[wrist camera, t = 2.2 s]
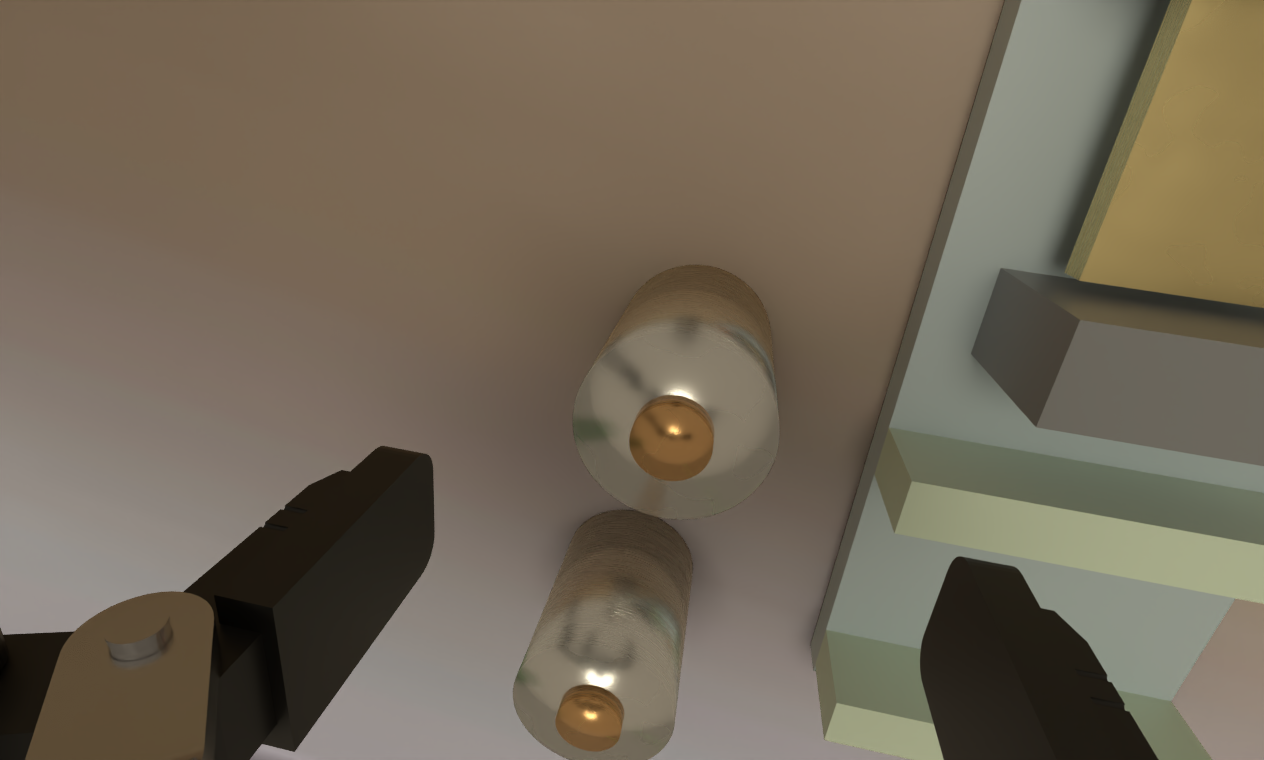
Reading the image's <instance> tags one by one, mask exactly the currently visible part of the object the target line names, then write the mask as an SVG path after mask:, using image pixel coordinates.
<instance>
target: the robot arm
mask: <svg viewBox="0 0 1264 760" xmlns="http://www.w3.org/2000/svg"><path fill="white" fill-rule="evenodd" d="M433 543H434V488H433V464H432V460H431V458H430V456H429V455H428V454H423V453H418V452H413V451H407V450H402V449H397V448H392V447H386V446H380V447H378V448H377V449H375V450H374V451H373V452H372V453H371V454H370V455H368V456H367V457H366V458H365V459H364V460H363V461H362V462H361V463H360V464H358V465H357V466H356V467H355V468H354V469H353V470H352V471H351V472H349V471H344V470H341V471H339V472H337V473H335V474H332V475H330V476H328V477H326V478H324V479H321V480H319V481H317V482H315V483H313V484H311V485H309V486H308V487H306V488H305V489H304V490H303V491H302V492H301V493H299V494H298V495H297V496H296V497H295V498H293V499H292V500H291V501H290V502H289V503H288V504H286V505H285V509H284V510H281V509H280V510H279V511H278V512H277V513H276V514H275V515H273V516H272V517H271V518H270V519H269V520H267V521H266V522H265V526H264V527H259V528H258V529H257V530H256V531H255V532H253V533H252V534H251V535H250V536H249V537H247V538H246V539H245V540H244V541H243V542H242V543H240V544H239V545H238V546H237V547H236V548H234V549H233V550H232V551H231V552H230V553H229V554H227V555H226V556H225V557H224V558H223V559H221V560H220V561H219V562H218V563H217V564H216V565H214V566H213V567H212V568H211V569H210V570H209V571H207V572H206V573H205V574H204V575H203V576H201V577H200V578H199V579H198V580H197V581H196V582H194V583H193V584H192V585H191V586H190V587H188V588H187V589H186V590H185V591H184V592H173V591H171V592H158V593H152V594H147V595H143V596H139V597H135V598H132V599H129V600H126V601H123V602H121V603H118V604H116V605H114V606H111V607H109V608H107V609H106V610H104V611H102V612H100V613H98V614H97V615H95V616H94V617H92V618H91V619H89V620H88V621H86V622H85V623H84V624H83V625H81V626H80V627H79V628H78V629H77V630H76V631H75V632H55V633H33V634H10V635H3V634H2V631H1V628H0V760H250V758H251V757H252V756H253V754H254V753H255V752H256V751H257V749H258V748H259V747H260V745H261V744H265V745H269V746H273V747H277V748H281V749H285V750H289V751H293V752H295V750H296V749H297V748H298V746H299V745H300V743H301V742H302V741H303V739H304V738H305V736H306V735H307V734H308V732H309V731H310V730H311V728H312V727H313V725H314V724H315V723H316V721H317V720H318V718H319V717H320V716H321V714H322V713H323V711H324V710H325V709H326V707H327V706H328V704H329V703H330V702H331V700H332V699H333V697H334V696H335V695H336V693H337V692H338V691H339V689H340V688H341V686H342V685H343V684H344V682H345V681H346V679H347V678H348V677H349V675H350V674H351V672H352V671H353V670H354V668H355V667H356V665H357V664H358V663H359V661H360V660H361V658H362V657H363V656H364V654H365V653H366V651H367V650H368V649H369V647H370V646H371V645H372V643H373V642H374V640H375V639H376V638H377V636H378V635H379V633H380V632H381V631H382V629H383V628H384V626H385V625H386V624H387V622H388V621H389V619H390V618H391V617H392V615H393V614H394V612H395V611H396V610H397V608H398V607H399V605H400V604H401V603H402V601H403V600H404V599H405V597H406V596H407V594H408V593H409V592H410V590H411V589H412V587H413V586H414V585H415V583H416V582H417V580H418V579H419V578H420V576H421V575H422V573H423V572H424V570H425V568H426V566H427V564H428V561H429V559H430V556H431V552H432V548H433ZM920 673H921V679H922V684H923V687H924V691H925V694H926V698H927V702H928V705H929V709H930V712H931V716H932V720H933V723H934V727H935V730H936V734H937V737H938V741H939V745H940V748H941V752H942V755H943V759H944V760H1159V759H1158V758H1157V756H1156V754H1155V753H1154V751H1153V750H1152V748H1151V746H1150V745H1149V743H1148V741H1147V740H1146V738H1145V736H1144V735H1143V733H1142V731H1141V730H1140V728H1139V726H1138V725H1137V723H1136V721H1135V720H1134V718H1133V717H1132V715H1131V713H1130V712H1129V711H1125V709H1124V705H1125V703H1124V702H1123V700H1122V698H1121V697H1120V695H1119V693H1118V692H1117V690H1116V688H1115V687H1114V685H1113V684H1112V682H1108V681H1107V676H1108V675H1107V674H1106V672H1105V670H1104V669H1103V667H1102V665H1101V664H1100V662H1099V660H1098V659H1097V657H1096V655H1095V654H1094V652H1093V651H1092V649H1091V647H1090V646H1089V644H1088V642H1087V641H1086V640H1085V639H1084V638H1083V637H1082V636H1080V635H1079V634H1078V633H1077V632H1076V631H1075V630H1074V629H1073V628H1072V627H1071V626H1070V625H1069V624H1068V623H1067V622H1066V621H1065V620H1064V619H1062V618H1061V617H1060V616H1059V615H1058V614H1057V613H1056V612H1055V611H1053V610H1048V609H1043V608H1040V606H1039V604H1038V602H1037V600H1036V599H1035V597H1034V595H1033V593H1032V591H1031V590H1030V588H1029V586H1028V584H1027V582H1026V580H1025V579H1024V577H1023V575H1022V573H1021V572H1020V571H1019V570H1018V569H1017V568H1016V567H1014V566H1009V565H1004V564H999V563H993V562H988V561H983V560H978V559H972V558H967V557H962V556H958V557H956V558H955V559H954V560H953V561H952V562H951V564H950V566H949V568H948V571H947V573H946V576H945V579H944V582H943V584H942V587H941V590H940V592H939V595H938V598H937V600H936V603H935V606H934V608H933V611H932V614H931V617H930V619H929V622H928V625H927V627H926V630H925V633H924V636H923V639H922V644H921V651H920Z"/></svg>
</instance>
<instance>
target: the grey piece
mask: <svg viewBox="0 0 1264 760" xmlns="http://www.w3.org/2000/svg"><path fill="white" fill-rule="evenodd" d="M1169 3H1170V0H1005V2H1004V5H1003V9H1002V12H1001V15H1000V19H999V22H998V25H997V29H996V32H995V35H994V39H993V42H992V45H991V48H990V52H989V55H988V58H987V62H986V65H985V68H984V72H983V75H982V78H981V82H980V85H979V88H978V92H977V95H976V98H975V101H974V105H973V108H972V111H971V115H970V118H969V121H968V125H967V128H966V131H965V135H964V138H963V141H962V145H961V148H960V151H959V154H958V158H957V161H956V164H955V168H954V171H953V174H952V178H951V181H950V184H949V188H948V191H947V194H946V198H945V201H944V204H943V208H942V211H941V214H940V217H939V221H938V224H937V227H936V231H935V234H934V237H933V241H932V244H931V247H930V251H929V254H928V257H927V261H926V264H925V267H924V270H923V274H922V277H921V280H920V284H919V287H918V290H917V294H916V297H915V300H914V304H913V307H912V310H911V314H910V317H909V320H908V323H907V327H906V330H905V333H904V337H903V340H902V343H901V347H900V350H899V353H898V357H897V360H896V363H895V367H894V370H893V373H892V376H891V380H890V383H889V386H888V390H887V393H886V396H885V400H884V403H883V406H882V410H881V413H880V416H879V420H878V423H877V426H876V429H875V433H874V436H873V439H872V443H871V446H870V449H869V453H868V456H867V459H866V463H865V466H864V469H863V473H862V476H861V479H860V482H859V486H858V489H857V492H856V496H855V499H854V502H853V506H852V509H851V512H850V516H849V519H848V522H847V526H846V529H845V532H844V535H843V539H842V542H841V545H840V549H839V552H838V555H837V559H836V562H835V565H834V569H833V572H832V575H831V579H830V582H829V585H828V589H827V592H826V595H825V598H824V602H823V605H822V608H821V612H820V615H819V618H818V622H817V625H816V628H815V632H814V635H813V638H812V642H811V645H810V646H811V655H812V663H813V671H816V675H817V683H818V692H819V700H820V709H821V717H822V726H823V734H824V740H826V741H831V742H835V743H840V744H844V745H849V746H853V747H858V748H862V749H867V750H871V751H875V752H880V753H884V754H889V755H893V756H898V757H902V758H907V759H911V760H944V759H943V755H942V752H941V748H940V745H939V741H938V737H937V734H936V730H935V727H934V723H933V720H932V716H931V712H930V709H929V705H928V702H927V698H926V694H925V691H924V687H923V684H922V679H921V673H920V651H921V644H922V639H923V636H924V633H925V630H926V627H927V625H928V622H929V619H930V617H931V614H932V611H933V608H934V606H935V603H936V600H937V598H938V595H939V592H940V590H941V587H942V584H943V582H944V579H945V576H946V573H947V571H948V568H949V566H950V564H951V562H952V561H953V560H954V559H955V558H956V557H958V556H962V557H967V558H972V559H978V560H983V561H988V562H993V563H999V564H1004V565H1009V566H1014V567H1016V568H1017V569H1018V570H1019V571H1020V572H1021V573H1022V575H1023V577H1024V579H1025V580H1026V582H1027V584H1028V586H1029V588H1030V590H1031V591H1032V593H1033V595H1034V597H1035V599H1036V600H1037V602H1038V604H1039V606H1040V608H1043V609H1048V610H1053V611H1055V612H1056V613H1057V614H1058V615H1059V616H1060V617H1061V618H1062V619H1064V620H1065V621H1066V622H1067V623H1068V624H1069V625H1070V626H1071V627H1072V628H1073V629H1074V630H1075V631H1076V632H1077V633H1078V634H1079V635H1080V636H1082V637H1083V638H1084V639H1085V640H1086V641H1087V642H1088V644H1089V646H1090V647H1091V649H1092V651H1093V652H1094V654H1095V655H1096V657H1097V659H1098V660H1099V662H1100V664H1101V665H1102V667H1103V669H1104V670H1105V672H1106V674H1107V675H1108V676H1107V681H1108V682H1112V684H1113V685H1114V687H1115V688H1116V690H1117V692H1118V693H1119V695H1120V697H1121V698H1122V700H1123V702H1124V703H1125V705H1124V709H1125V711H1129V712H1130V713H1131V715H1132V717H1133V718H1134V720H1135V721H1136V723H1137V725H1138V726H1139V728H1140V730H1141V731H1142V733H1143V735H1144V736H1145V738H1146V740H1147V741H1148V743H1149V745H1150V746H1151V748H1152V750H1153V751H1154V753H1155V754H1156V756H1157V758H1158V759H1159V760H1212V759H1211V757H1210V756H1209V754H1208V753H1207V752H1206V750H1205V749H1204V747H1203V746H1202V744H1201V743H1200V742H1199V740H1198V739H1197V737H1196V736H1195V735H1194V733H1193V732H1192V730H1191V729H1190V727H1189V726H1188V725H1187V723H1186V722H1185V720H1184V719H1183V718H1182V716H1181V715H1180V713H1179V712H1178V710H1177V709H1176V708H1175V706H1174V705H1173V703H1172V702H1171V701H1172V699H1173V697H1174V696H1175V694H1176V693H1177V691H1178V689H1179V688H1180V686H1181V685H1182V683H1183V681H1184V680H1185V678H1186V677H1187V675H1188V673H1189V672H1190V670H1191V669H1192V667H1193V665H1194V664H1195V662H1196V661H1197V659H1198V657H1199V656H1200V654H1201V653H1202V651H1203V649H1204V648H1205V646H1206V645H1207V643H1208V641H1209V640H1210V638H1211V637H1212V635H1213V633H1214V632H1215V630H1216V629H1217V627H1218V625H1219V624H1220V622H1221V621H1222V619H1223V617H1224V616H1225V614H1226V613H1227V611H1228V609H1229V608H1230V606H1231V605H1232V603H1233V601H1234V600H1235V598H1236V599H1241V600H1246V601H1252V602H1257V603H1262V604H1264V308H1260V307H1253V306H1247V305H1240V304H1233V303H1226V302H1220V301H1213V300H1206V299H1199V298H1193V297H1186V296H1179V295H1172V294H1166V293H1159V292H1152V291H1145V290H1139V289H1132V288H1125V287H1118V286H1112V285H1105V284H1098V283H1091V282H1085V281H1079V280H1077V279H1075V278H1073V277H1072V276H1070V275H1068V274H1066V273H1064V272H1065V269H1066V267H1067V264H1068V261H1069V259H1070V256H1071V254H1072V251H1073V249H1074V246H1075V244H1076V241H1077V238H1078V236H1079V233H1080V231H1081V228H1082V226H1083V223H1084V221H1085V218H1086V215H1087V213H1088V210H1089V208H1090V205H1091V203H1092V200H1093V197H1094V195H1095V192H1096V190H1097V187H1098V185H1099V182H1100V180H1101V177H1102V174H1103V172H1104V169H1105V167H1106V164H1107V162H1108V159H1109V156H1110V154H1111V151H1112V149H1113V146H1114V144H1115V141H1116V139H1117V136H1118V133H1119V131H1120V128H1121V126H1122V123H1123V121H1124V118H1125V115H1126V113H1127V110H1128V108H1129V105H1130V103H1131V100H1132V98H1133V95H1134V92H1135V90H1136V87H1137V85H1138V82H1139V80H1140V77H1141V74H1142V72H1143V69H1144V67H1145V64H1146V62H1147V59H1148V57H1149V54H1150V51H1151V49H1152V46H1153V44H1154V41H1155V39H1156V36H1157V34H1158V31H1159V28H1160V26H1161V23H1162V21H1163V18H1164V16H1165V13H1166V10H1167V8H1168V5H1169Z"/></svg>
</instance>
